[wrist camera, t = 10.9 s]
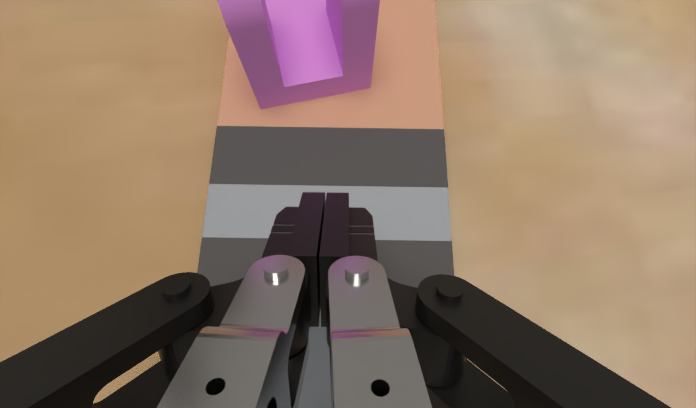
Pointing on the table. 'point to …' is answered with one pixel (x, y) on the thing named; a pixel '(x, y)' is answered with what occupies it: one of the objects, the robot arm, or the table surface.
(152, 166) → the table surface
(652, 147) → the table surface
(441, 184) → the lane
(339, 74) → the bracket
